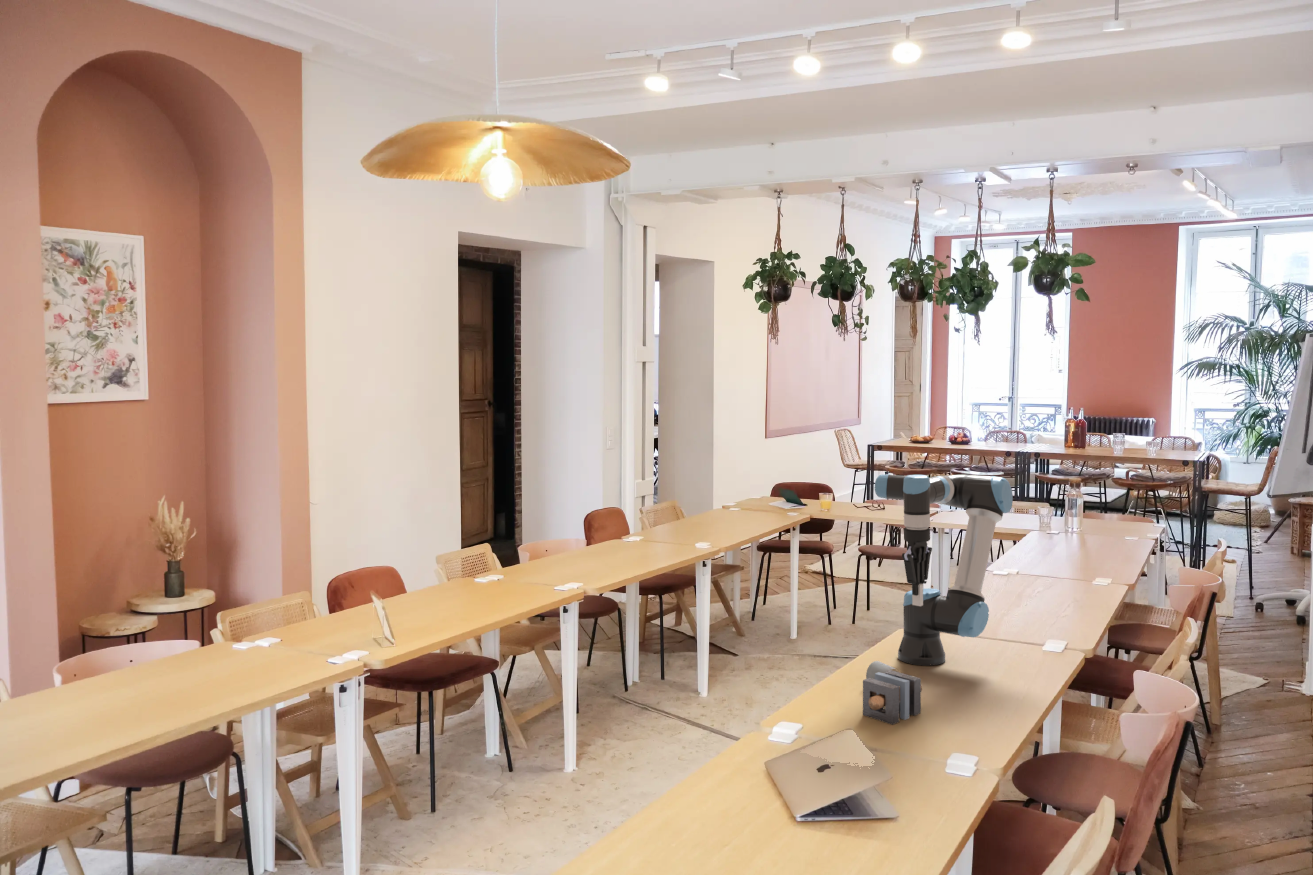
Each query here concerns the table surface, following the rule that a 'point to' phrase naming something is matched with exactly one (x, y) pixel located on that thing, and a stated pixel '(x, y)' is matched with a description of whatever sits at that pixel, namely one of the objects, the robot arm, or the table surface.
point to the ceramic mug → (878, 669)
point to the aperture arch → (903, 691)
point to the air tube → (879, 701)
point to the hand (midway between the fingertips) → (917, 604)
